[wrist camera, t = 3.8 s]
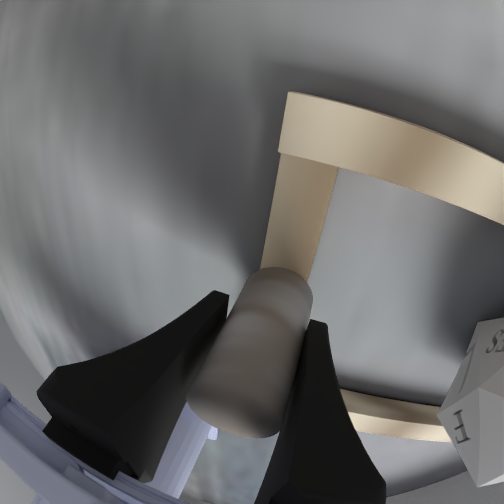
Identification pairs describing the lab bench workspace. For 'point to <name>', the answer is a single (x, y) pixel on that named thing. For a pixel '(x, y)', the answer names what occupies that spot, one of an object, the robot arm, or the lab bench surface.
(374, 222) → the lab bench surface
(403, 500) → the long grey block
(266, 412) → the tan frame
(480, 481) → the die
